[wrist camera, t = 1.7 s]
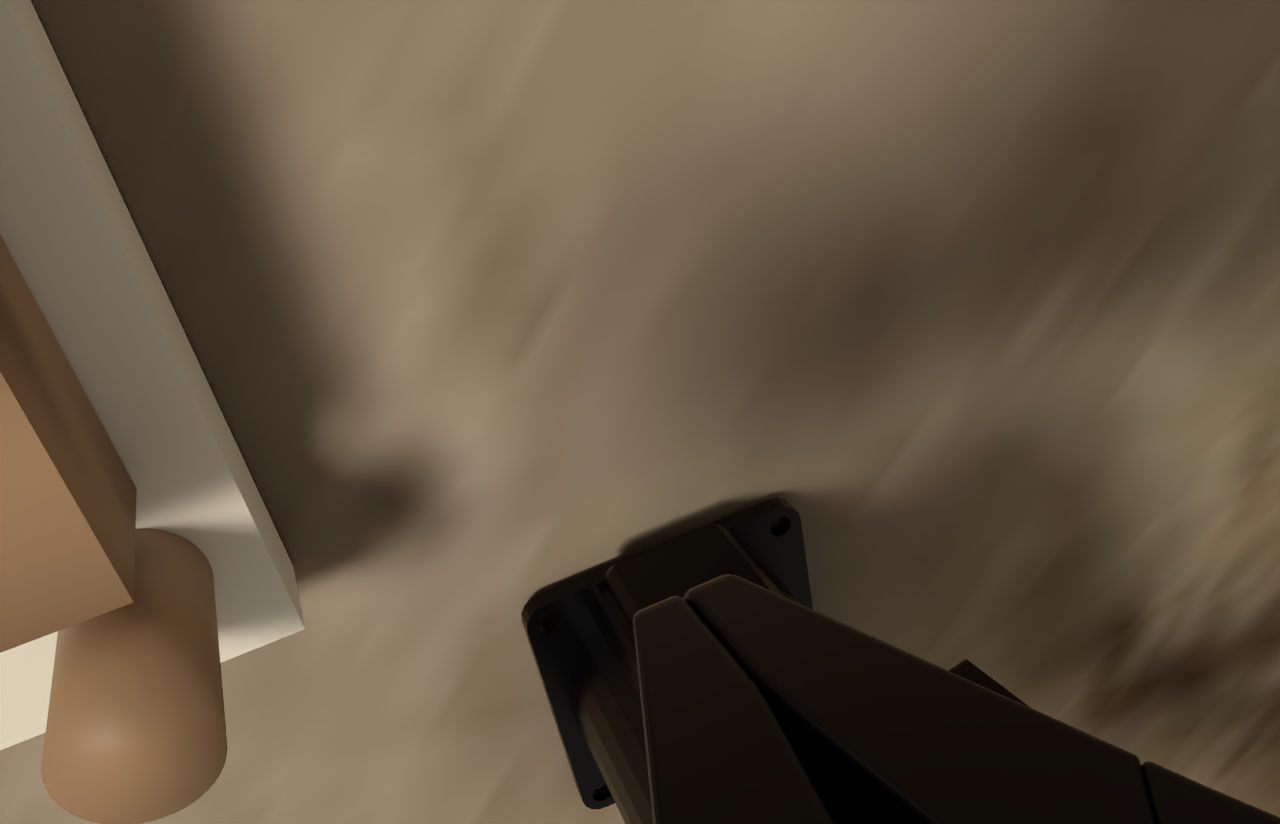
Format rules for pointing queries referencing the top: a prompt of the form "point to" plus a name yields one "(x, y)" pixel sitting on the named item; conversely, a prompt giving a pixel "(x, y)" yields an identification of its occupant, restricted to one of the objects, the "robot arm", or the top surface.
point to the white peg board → (159, 467)
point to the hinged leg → (54, 484)
